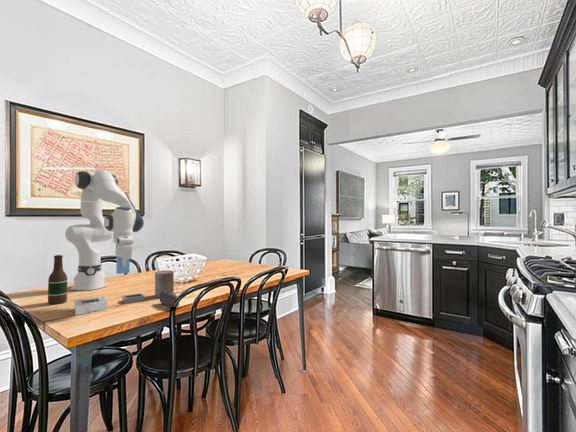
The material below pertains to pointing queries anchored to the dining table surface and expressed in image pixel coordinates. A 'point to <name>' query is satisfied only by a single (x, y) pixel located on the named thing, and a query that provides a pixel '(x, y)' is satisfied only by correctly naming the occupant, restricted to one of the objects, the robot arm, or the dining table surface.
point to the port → (89, 305)
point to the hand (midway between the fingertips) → (122, 266)
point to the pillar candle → (164, 282)
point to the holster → (132, 298)
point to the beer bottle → (57, 283)
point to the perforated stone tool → (167, 298)
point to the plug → (119, 266)
